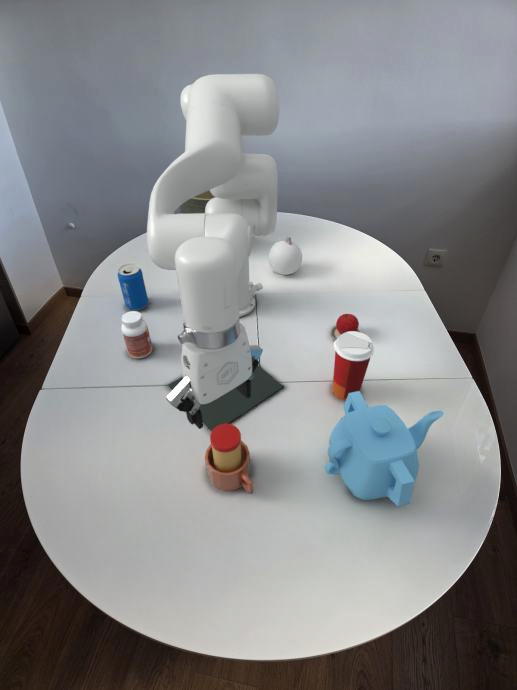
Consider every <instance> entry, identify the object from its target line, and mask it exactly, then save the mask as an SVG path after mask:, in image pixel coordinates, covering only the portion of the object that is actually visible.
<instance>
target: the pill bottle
mask: <svg viewBox="0 0 517 690" xmlns="http://www.w3.org/2000/svg"><path fill="white" fill-rule="evenodd" d="M121 322H122V323H121V327H120V330H121V334H122V338H123V341H124V344H125V348H126V352H127V354H128V356H129V357H130V358H133V359H144V358H146V357H148V356H149V355H150V354H151V353H152V351H153V343H152V340H151V335H150V331H149V327H148V324H147V322H146V320H145V319H143V315H142V313H141V312H140V311H138V310H130V311H127V312H125V313H123V315H122V316H121Z"/></svg>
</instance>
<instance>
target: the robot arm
mask: <svg viewBox="0 0 517 690" xmlns="http://www.w3.org/2000/svg"><path fill="white" fill-rule="evenodd" d="M278 91H279V90H278V88H277V85H276V83H275V81H273V78H271V77H270V76H268V75H266V74H262V73H215V74H207V75H204V76H201V77H199V78H197V79H196V80H195V81H194V82H192V83H191V84H188V85H186V86H185V87H184V88H183V89H182V90H181V93H180V97H179V99H180V103H179V104H180V108H181V112H182V115H183V117H184V119H185V121H186V122H185V123H186V124H185V140H184V152H183V153H182V154H180V155H179V156H178V157H176V159H175V160H173V161H172V162H171V163H170V164H169V165H168V166H167V168H166V169H165V170H164V171H163V172H162V173H161V175H160V176H159V177H158V179H156V182H155V184H153V187H152V190H151V193H150V197H149V203H148V214H147V223H146V246H147V253H148V255H149V258H150V260H151V262H152V263H153V264H154V265H156V267H158V268H160V269H163V270H168V271H175V272H176V280H177V286H178V292H179V299H180V305H181V311H182V316H183V324H182V326H183V331H182V332H181V333H180V334H178V335H177V340H178V342H179V343H180V344H181V371H182V372H181V373H182V377H183V380H182V381H181V382H180V383H179V384H178V385H177V386H176V387H175V388H174V389H173V390H172V389H171V391H170V392H169V393H168V394H167V395H166V396H165V400H166V401H167V402H168V403H169V405H171V406H172V407H174V408H175V409H177V410H178V411H179V412H184V413H185V414H186V419H187V421H188V422H189V424H190V425H195V426H196V428H198V429H199V430H201V429H203V427H204V423H203V420H202V413H201V411H200V410H199V407H200V405H201V404H207V403H210V402H212V401H214V400H216V399H217V398H219V397H221V396H222V395H224V394H226V393H227V392H229V391H231V390H232V389H234V388H235V387H236V389H237V390H238V391H239V392H240V393H241V394H242V395H244V396H245V397H246V398H250V397H251V379H252V378H253V377H254V374H253V372H254V370H255V369H256V367H257V366H259V364H260V361H259V360H260V359H261V357H262V354H263V352H264V349H263V348H261V346H260V345H257V344H251V345H250V341H249V338H248V334H247V331H246V328H245V326H244V324H242V323H241V321H240V318H241V317H244V316H245V315H249V314H251V312H253V310H254V309H255V307H256V298H255V296H254V295H255V294H256V293H257V292H259V291H261V290H263V288H264V287H263V284H262V283H261V282H259V283H257V284H255V285H254V282H252V281H250V256H251V255H252V252H253V245H254V237H264V236H270V235H271V234H273V233H274V231H275V230H276V227H277V222H278V221H277V219H278V195H279V193H278V192H279V174H278V173H279V172H278V166H277V162H276V161H275V159H274V157H272V156H271V155H269V154H266V153H245V152H244V136H245V137H246V136H248V137H249V136H257V137H258V136H259V137H261V136H270V135H272V134H274V132H275V131H276V129H277V126H278V123H279V119H280V95H279V92H278ZM209 190H210V192H211V194H212V195H213V196H215V198H213V199H211V200H210V201H209V202H208V203H207V205H206V208H205V213H201V214H180V213H176V212H177V210H178V208H179V206H180V205H182V204H183V203H184V202H186V201H187V200H189V199H191V198H193V197H195V196H197V195H199V194H202V193H204V192H206V191H209ZM183 396H184V397H183ZM192 396H194V397H195V400H194V402H192V401H191V398H192ZM182 397H183V399H181V398H182Z"/></svg>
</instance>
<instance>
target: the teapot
mask: <svg viewBox="0 0 517 690" xmlns="http://www.w3.org/2000/svg"><path fill="white" fill-rule="evenodd" d="M342 409H343V412H344V415H343V416H342V417H341V418H340V419H339V420H338V422H337V423H336V424H335V425H334V427H333V430H332V431H331V434H330V436H329V441H328V444H329V445H328V446H329V447H328V449H327V455H328V458H329V460H330V461H328V462H326V463H325V465H324V470H325V472H326V474H328V475H331V476H334V475H337V474H338V475H339V477H340V479H341V480H342V482H343V483H344V485H345V486H346V487H347V488H348V490H349V491H350V492H351V493H352V495H353V496H354V497H356V498H358V499H359V500H362V501H371V500H376V499H381V498H385V497H387V498H388V499H389V500H390V501H391V502H393V503H394V504H395V505H396V506H397V507H400V506H404V505H409V504H411V500H412V497H413V496H412V495H413V490H414V486H415V483H416V481H417V478H418V474H419V467H420V465H419V456H418V450H419V449H420V448H421V446H422V445H423V443H424V442H425V440H426V437H427V434H428V432H429V429H430V428H431V426H432V425H433V424H434V423H435V422H436V421H437V420H439V419H441V418H442V417H443V416H444V415H445V413H444V411H443V410H434V411H430V412H429V413H427V414H425V415H424V416H422V418H420V419H419V420H418V421H417V422H416V423H415V424H413V425H412V426H410V427H409V428H408V426H407V425H406V424H405V422H404V421H403V420H402V418H401V417H400V416H399V415H398V414H397V412H395V410H393V409H392V408H391V407H390V406H388V405H386V404H376V405H372V406H369V405H368V404H367V402H366V400H365V399H364V396H363V394H362V392H361V390H360V391H357V392H352V393H349V394H348V396H347V399H346V401H345V402H344V404H343V407H342Z"/></svg>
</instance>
